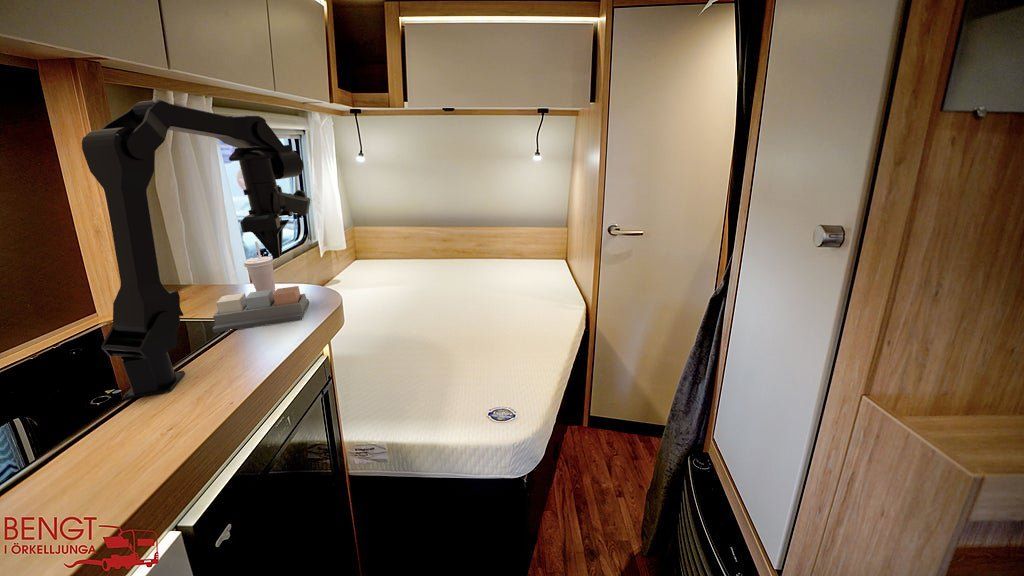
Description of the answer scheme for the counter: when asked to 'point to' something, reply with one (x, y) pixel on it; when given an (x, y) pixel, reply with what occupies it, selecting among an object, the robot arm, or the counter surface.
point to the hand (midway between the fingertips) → (278, 256)
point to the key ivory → (231, 303)
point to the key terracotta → (287, 295)
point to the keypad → (260, 316)
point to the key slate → (259, 299)
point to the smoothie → (261, 272)
